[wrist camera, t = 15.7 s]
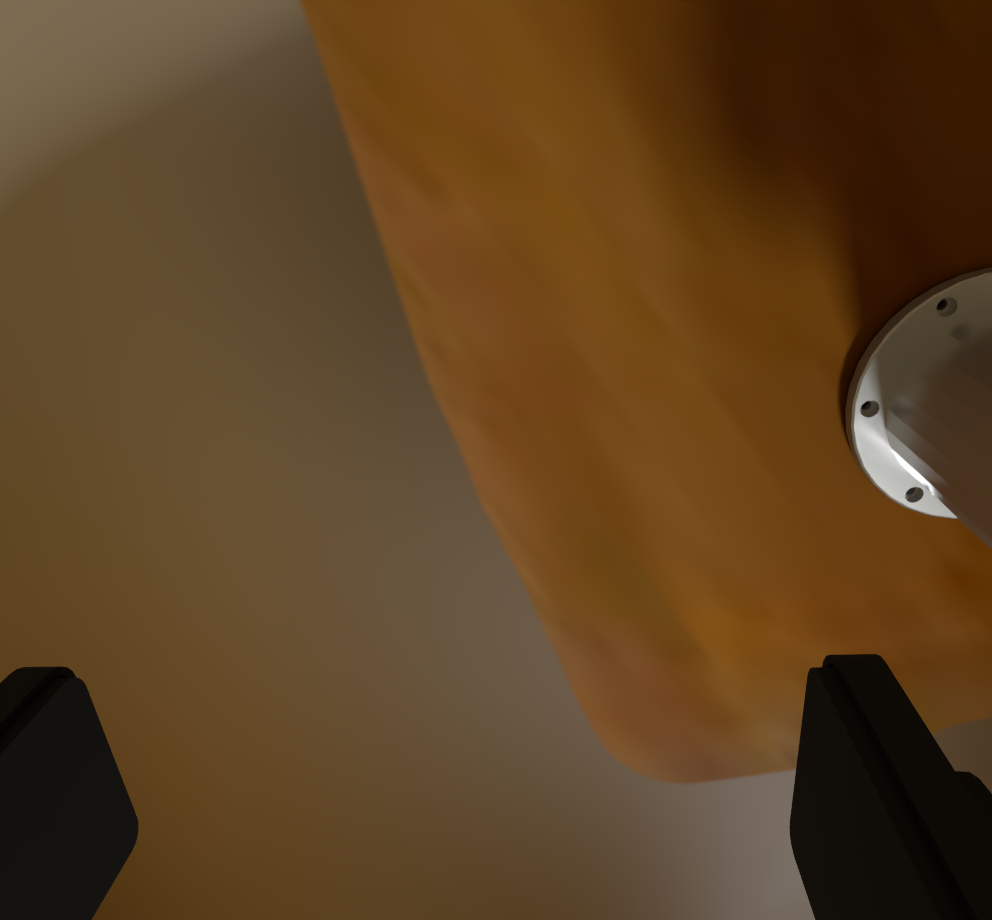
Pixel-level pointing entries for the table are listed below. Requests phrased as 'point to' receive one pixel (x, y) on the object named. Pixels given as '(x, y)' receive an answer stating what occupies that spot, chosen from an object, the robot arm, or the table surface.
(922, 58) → the table surface
